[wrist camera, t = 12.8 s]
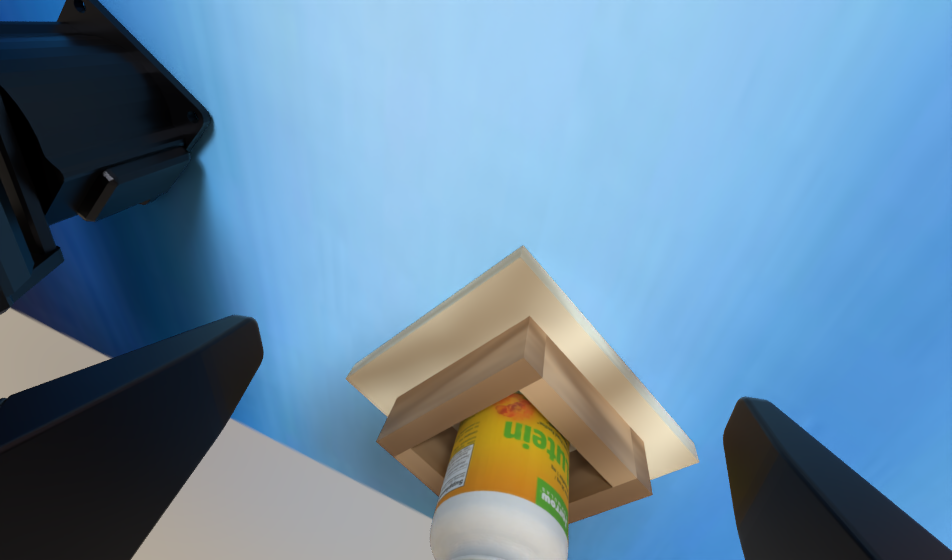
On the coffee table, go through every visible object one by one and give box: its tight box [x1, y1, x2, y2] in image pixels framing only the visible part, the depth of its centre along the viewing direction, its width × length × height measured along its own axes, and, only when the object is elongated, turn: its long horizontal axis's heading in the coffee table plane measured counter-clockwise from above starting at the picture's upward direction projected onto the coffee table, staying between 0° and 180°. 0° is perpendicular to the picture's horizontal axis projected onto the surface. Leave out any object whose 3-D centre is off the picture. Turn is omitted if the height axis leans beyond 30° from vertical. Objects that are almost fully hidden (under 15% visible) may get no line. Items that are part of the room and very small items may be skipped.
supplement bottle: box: [430, 391, 570, 560], centre depth 19 cm, size 5×5×10 cm
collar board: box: [346, 246, 699, 524], centre depth 23 cm, size 14×12×4 cm
